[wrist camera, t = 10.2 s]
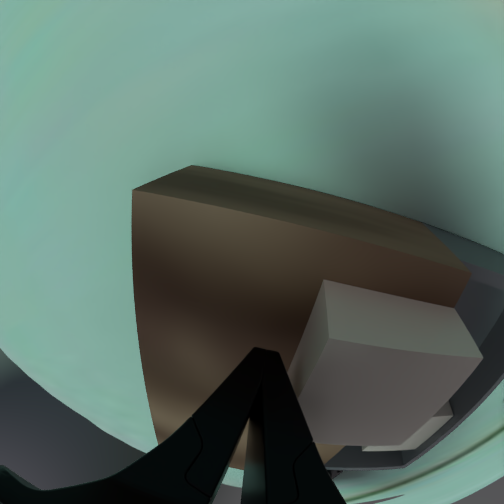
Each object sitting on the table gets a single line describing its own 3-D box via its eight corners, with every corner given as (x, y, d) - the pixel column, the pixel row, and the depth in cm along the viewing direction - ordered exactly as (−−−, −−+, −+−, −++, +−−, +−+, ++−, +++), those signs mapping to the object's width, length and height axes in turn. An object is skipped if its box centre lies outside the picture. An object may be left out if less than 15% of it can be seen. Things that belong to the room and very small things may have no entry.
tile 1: (391, 398, 10) (399, 445, 8) (281, 384, 10) (274, 437, 8) (454, 308, 8) (483, 357, 5) (323, 279, 8) (328, 338, 6)
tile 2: (362, 451, 15) (360, 424, 17) (415, 449, 15) (410, 425, 17) (397, 417, 13) (391, 387, 15) (453, 415, 12) (444, 389, 15)
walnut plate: (310, 427, 19) (306, 478, 15) (179, 397, 20) (158, 445, 16) (421, 222, 11) (472, 273, 7) (191, 165, 12) (132, 189, 8)
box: (399, 432, 19) (404, 467, 15) (310, 427, 19) (307, 468, 16) (522, 263, 11) (557, 296, 7) (421, 222, 11) (459, 259, 8)
